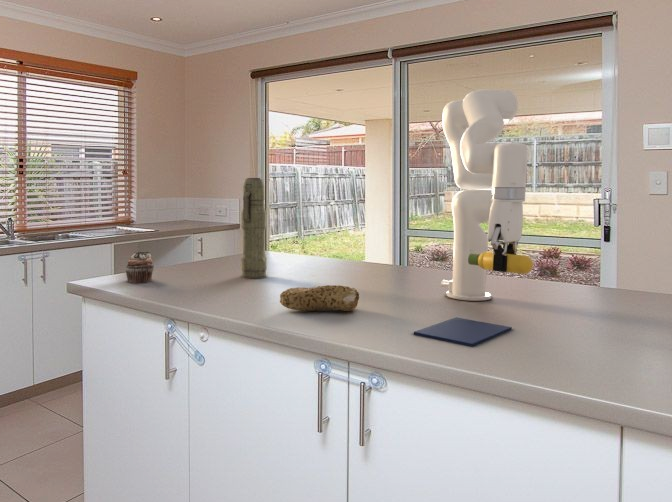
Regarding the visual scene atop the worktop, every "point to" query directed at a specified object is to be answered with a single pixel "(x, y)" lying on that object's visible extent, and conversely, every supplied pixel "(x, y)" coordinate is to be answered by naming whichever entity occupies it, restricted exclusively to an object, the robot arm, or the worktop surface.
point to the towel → (463, 331)
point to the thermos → (253, 229)
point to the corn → (514, 262)
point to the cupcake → (139, 268)
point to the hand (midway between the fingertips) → (504, 269)
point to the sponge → (320, 298)
